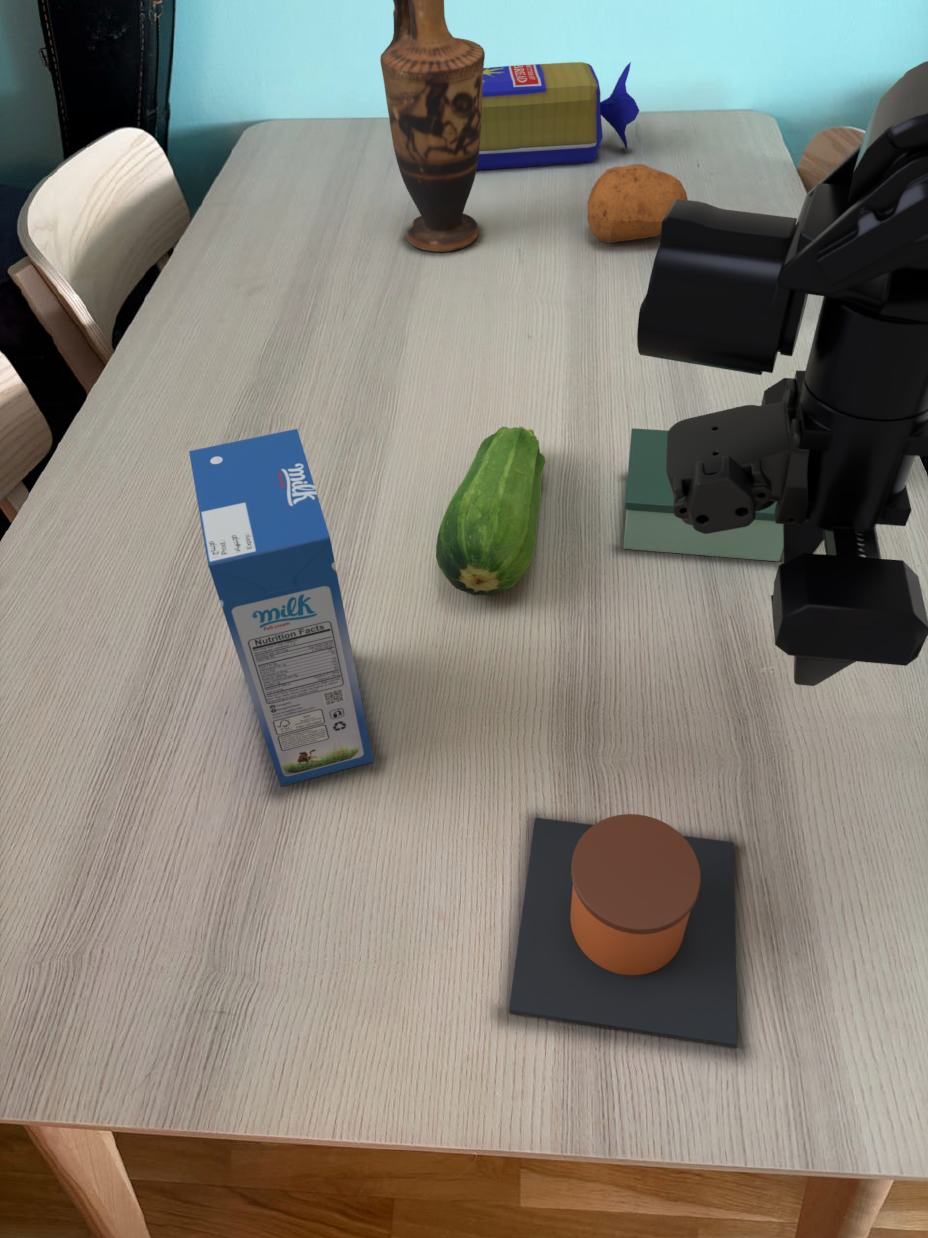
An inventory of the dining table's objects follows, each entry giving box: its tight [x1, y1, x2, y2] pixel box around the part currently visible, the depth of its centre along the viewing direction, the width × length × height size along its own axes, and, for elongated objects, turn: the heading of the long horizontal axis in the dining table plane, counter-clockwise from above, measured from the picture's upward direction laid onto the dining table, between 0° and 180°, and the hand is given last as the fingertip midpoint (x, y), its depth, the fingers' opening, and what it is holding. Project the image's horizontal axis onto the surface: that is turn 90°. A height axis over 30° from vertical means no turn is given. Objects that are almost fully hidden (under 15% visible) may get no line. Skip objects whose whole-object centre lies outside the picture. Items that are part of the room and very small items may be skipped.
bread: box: [476, 61, 640, 171], centre depth 126 cm, size 10×25×10 cm, turn 93°
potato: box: [586, 163, 688, 243], centre depth 110 cm, size 9×11×8 cm
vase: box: [379, 0, 486, 253], centre depth 104 cm, size 11×11×30 cm
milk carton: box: [188, 428, 374, 787], centre depth 60 cm, size 10×6×20 cm, turn 17°
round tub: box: [570, 813, 701, 975], centre depth 53 cm, size 7×7×6 cm
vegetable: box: [435, 426, 547, 597], centre depth 77 cm, size 7×7×20 cm
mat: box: [508, 817, 739, 1048], centre depth 56 cm, size 12×12×1 cm
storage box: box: [623, 428, 783, 562], centre depth 77 cm, size 12×9×5 cm
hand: (798, 620), depth 55 cm, fingers open, 9 cm apart
